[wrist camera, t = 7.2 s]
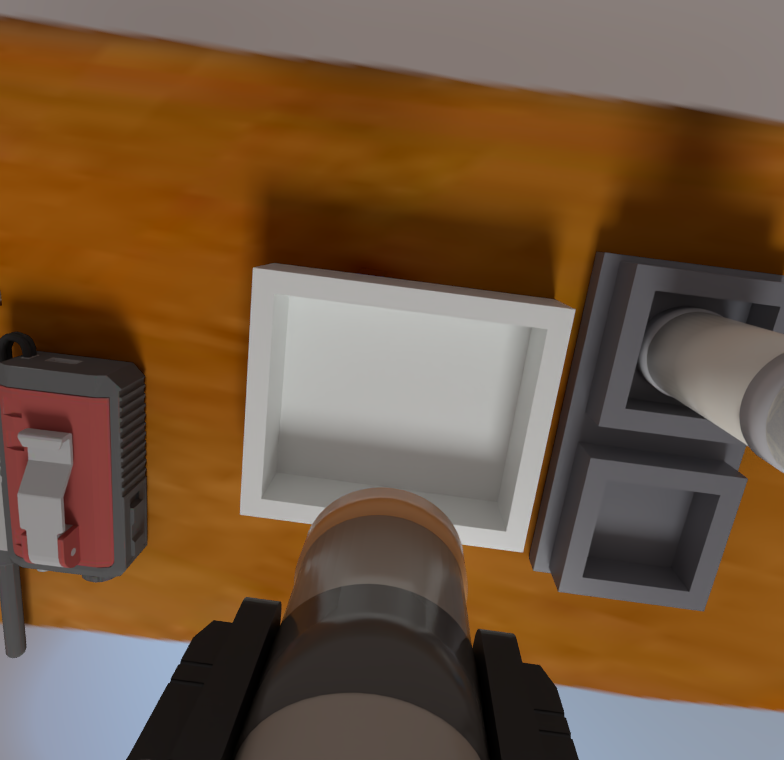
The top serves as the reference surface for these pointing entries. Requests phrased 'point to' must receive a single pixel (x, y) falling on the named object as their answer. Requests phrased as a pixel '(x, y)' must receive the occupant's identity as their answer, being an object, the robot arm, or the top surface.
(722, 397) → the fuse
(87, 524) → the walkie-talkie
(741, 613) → the top surface
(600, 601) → the top surface
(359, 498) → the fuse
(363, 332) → the parts tray
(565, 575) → the fuse block
